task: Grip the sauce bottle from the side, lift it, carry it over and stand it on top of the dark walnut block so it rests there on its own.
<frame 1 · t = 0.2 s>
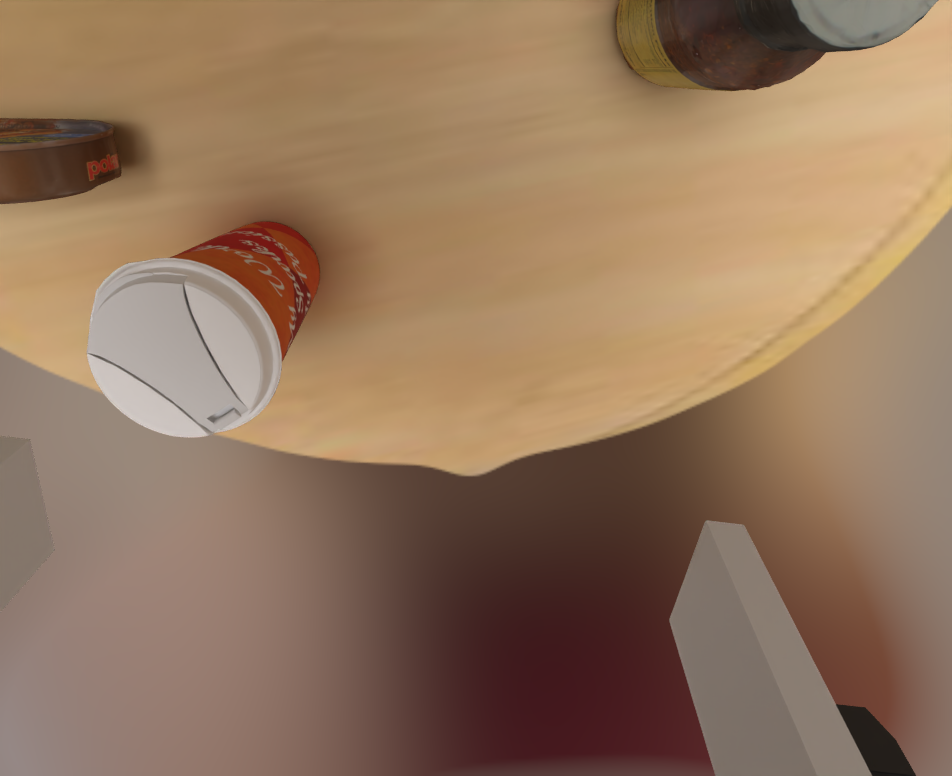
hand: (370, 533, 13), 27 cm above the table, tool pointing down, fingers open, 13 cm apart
tin: (11, 149, 36), on the table
sauce bottle: (667, 19, 33), on the table
paper cup: (272, 267, 39), on the table
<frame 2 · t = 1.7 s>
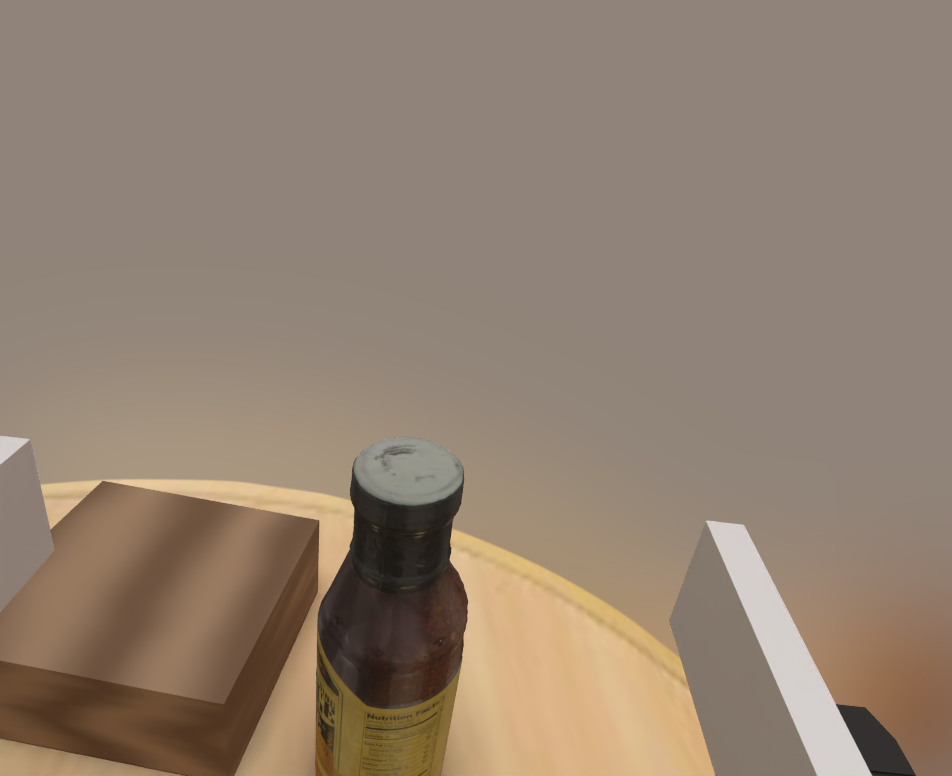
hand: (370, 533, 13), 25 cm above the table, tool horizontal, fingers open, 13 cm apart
walnut block: (163, 650, 38), on the table
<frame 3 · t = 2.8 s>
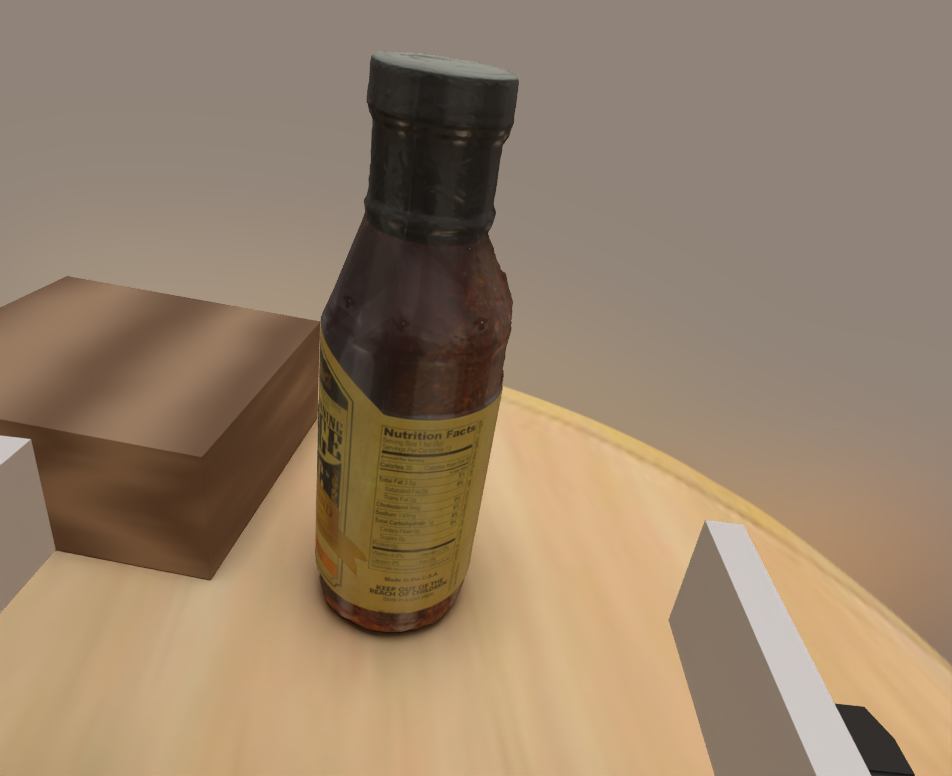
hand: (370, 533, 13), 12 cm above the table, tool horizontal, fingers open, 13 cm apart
sauce bottle: (389, 589, 28), on the table
walnut block: (135, 457, 32), on the table
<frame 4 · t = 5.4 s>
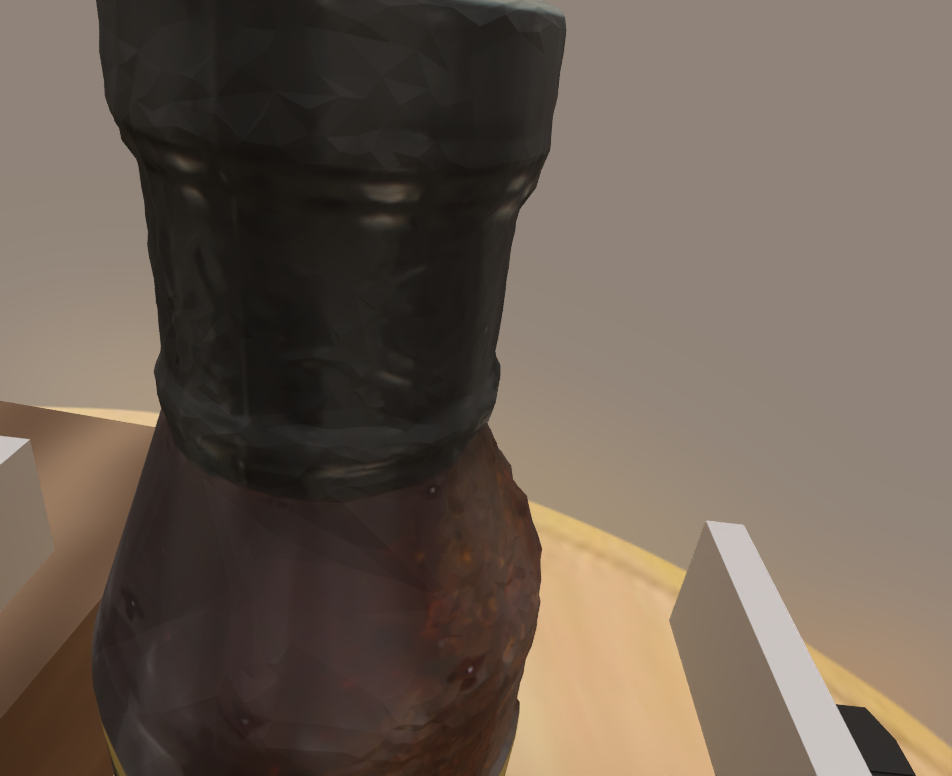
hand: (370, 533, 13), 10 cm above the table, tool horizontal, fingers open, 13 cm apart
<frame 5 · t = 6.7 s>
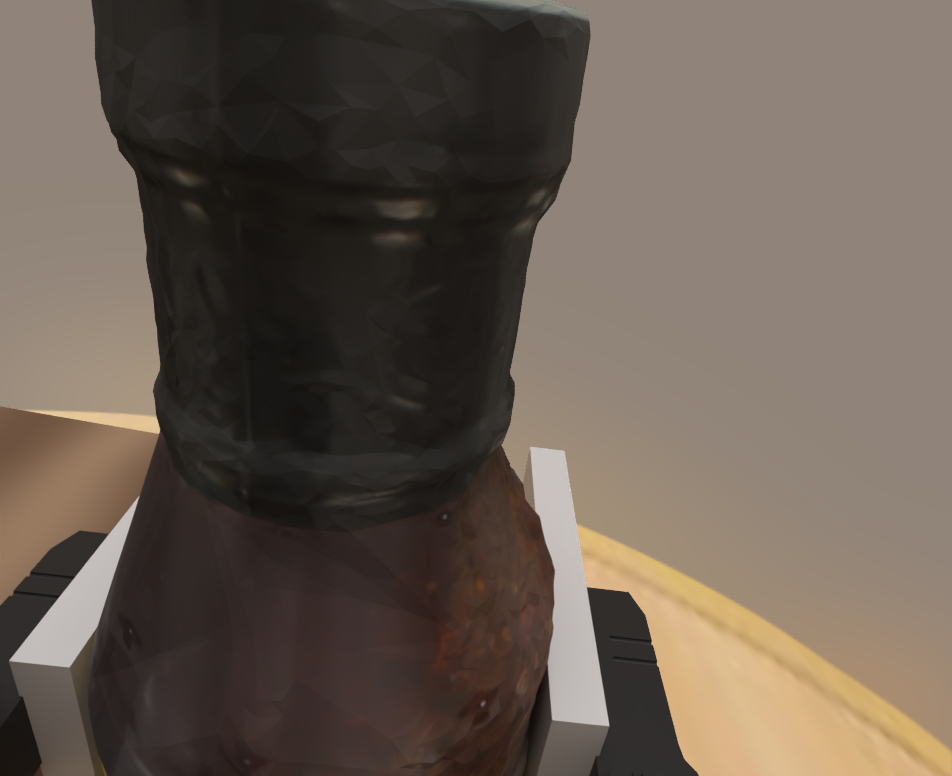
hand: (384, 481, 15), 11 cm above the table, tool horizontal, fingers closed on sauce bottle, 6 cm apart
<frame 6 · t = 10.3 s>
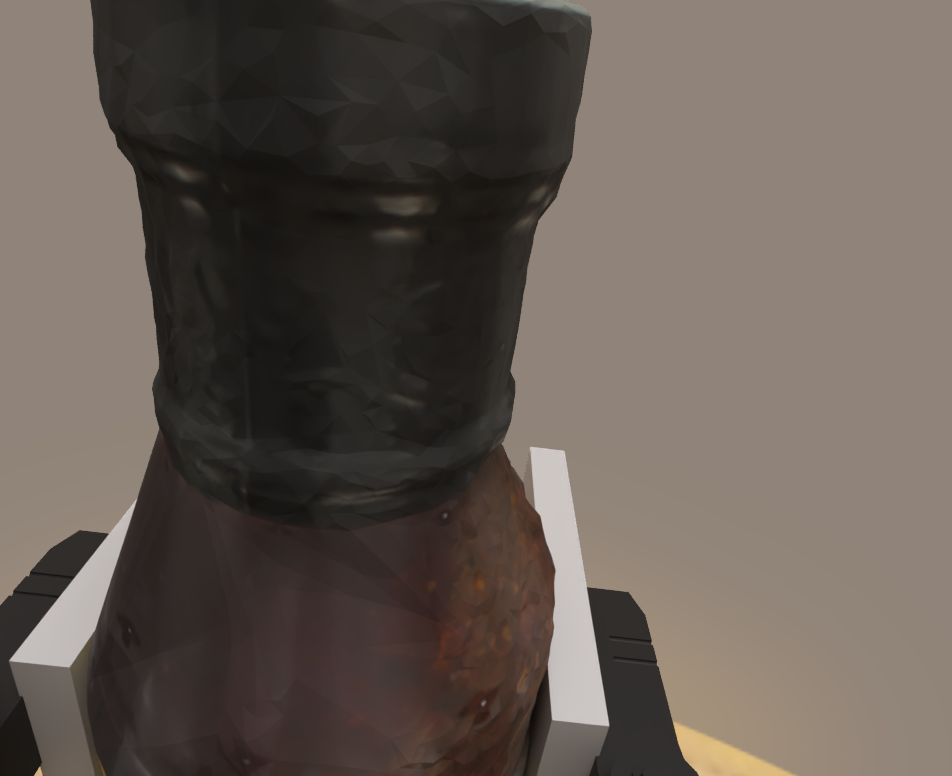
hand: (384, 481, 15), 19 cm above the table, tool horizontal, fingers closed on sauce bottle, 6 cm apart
when the fingers open (17 cm above the table, at t = 11.5 s): sauce bottle stays where it is, resting on walnut block.
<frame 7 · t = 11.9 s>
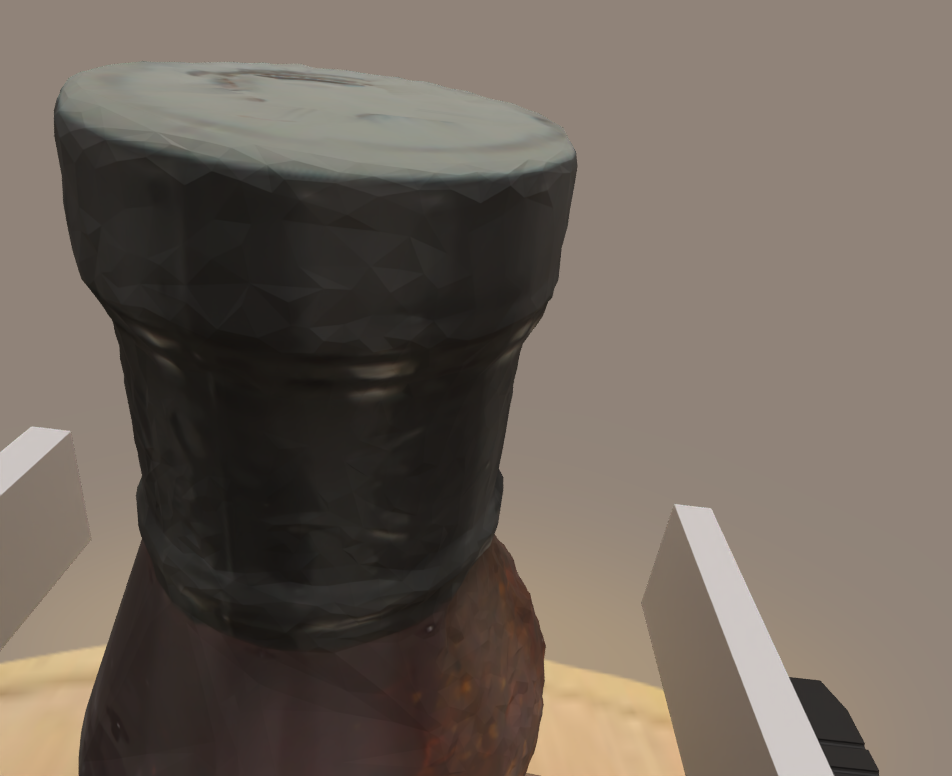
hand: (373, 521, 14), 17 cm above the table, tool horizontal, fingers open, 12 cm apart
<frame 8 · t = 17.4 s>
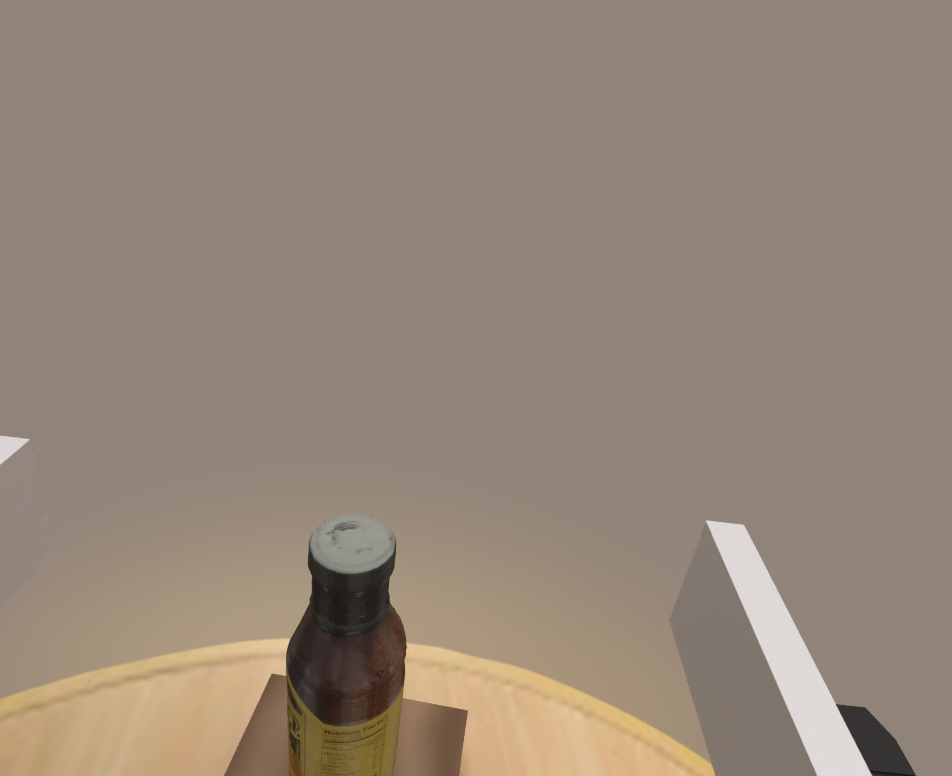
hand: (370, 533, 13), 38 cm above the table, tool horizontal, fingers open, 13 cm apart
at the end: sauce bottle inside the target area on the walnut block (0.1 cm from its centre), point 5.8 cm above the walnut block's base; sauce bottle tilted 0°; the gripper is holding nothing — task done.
